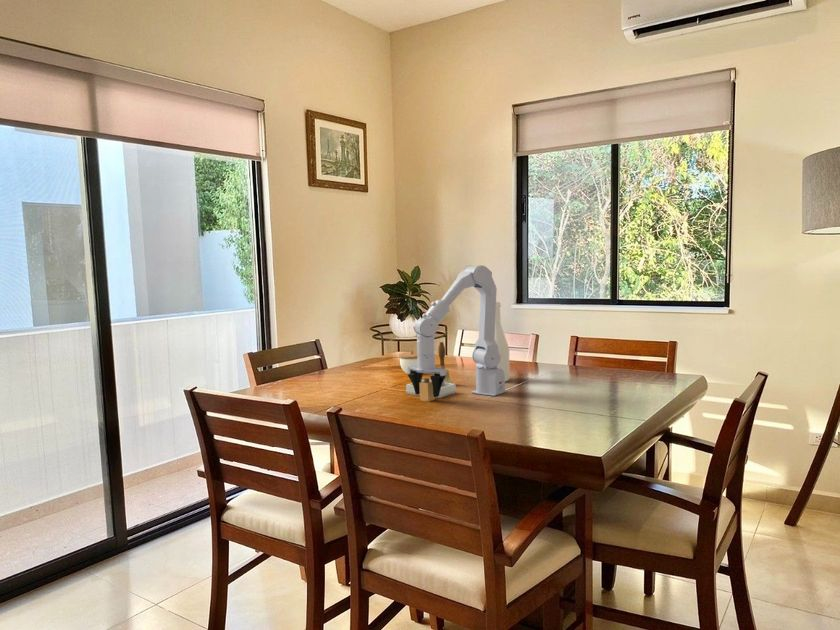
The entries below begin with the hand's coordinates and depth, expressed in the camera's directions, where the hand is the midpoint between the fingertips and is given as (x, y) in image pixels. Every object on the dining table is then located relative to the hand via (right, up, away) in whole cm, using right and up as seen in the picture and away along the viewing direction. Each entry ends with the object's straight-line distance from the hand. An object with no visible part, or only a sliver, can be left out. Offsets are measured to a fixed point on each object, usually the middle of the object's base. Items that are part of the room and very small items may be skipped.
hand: (427, 395), depth 203 cm
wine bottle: (+27, +2, +29) cm, 40 cm away
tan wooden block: (0, -2, 0) cm, 2 cm away
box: (+1, -1, +10) cm, 10 cm away
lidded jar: (-5, +2, +50) cm, 50 cm away
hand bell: (+6, 0, +24) cm, 25 cm away
